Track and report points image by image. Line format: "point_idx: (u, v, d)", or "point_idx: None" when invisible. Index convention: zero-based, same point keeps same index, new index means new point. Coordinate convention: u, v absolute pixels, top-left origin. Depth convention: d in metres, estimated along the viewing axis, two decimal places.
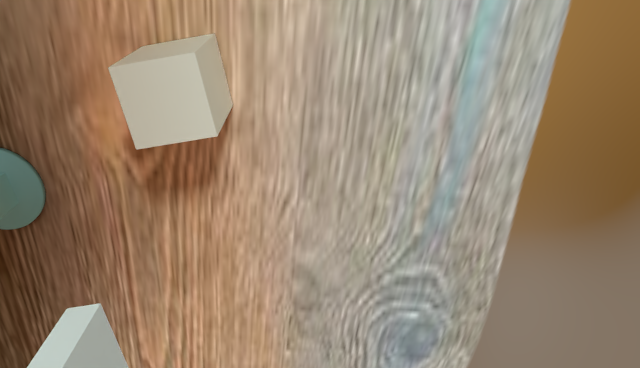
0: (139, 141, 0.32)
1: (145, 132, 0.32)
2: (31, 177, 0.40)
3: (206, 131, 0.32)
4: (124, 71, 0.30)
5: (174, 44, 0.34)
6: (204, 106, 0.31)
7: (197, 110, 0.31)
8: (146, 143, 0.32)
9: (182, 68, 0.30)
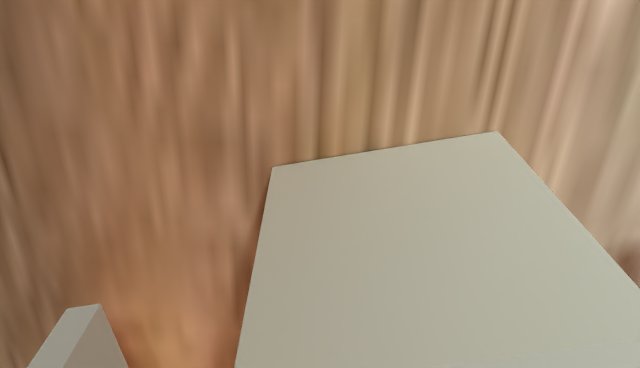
0: None
1: None
2: None
3: None
4: None
5: (404, 185, 0.10)
6: None
7: None
8: None
9: None
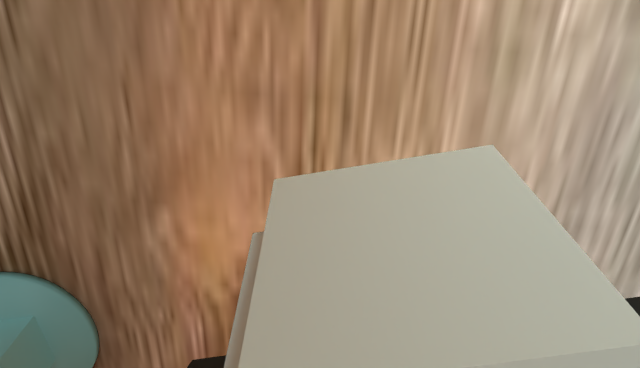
0: None
1: None
2: (78, 322, 0.24)
3: None
4: None
5: (402, 197, 0.11)
6: None
7: None
8: None
9: None
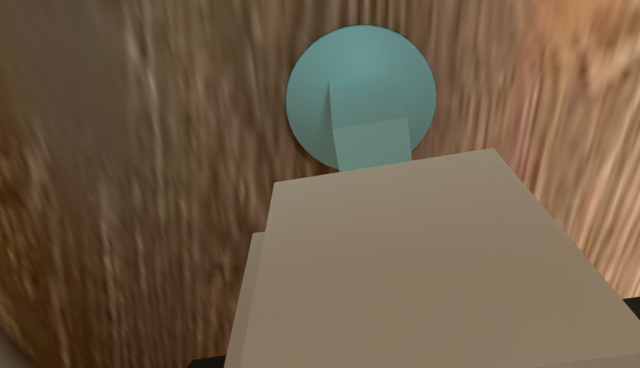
0: None
1: None
2: (426, 80, 0.24)
3: None
4: None
5: (402, 201, 0.10)
6: None
7: None
8: None
9: None
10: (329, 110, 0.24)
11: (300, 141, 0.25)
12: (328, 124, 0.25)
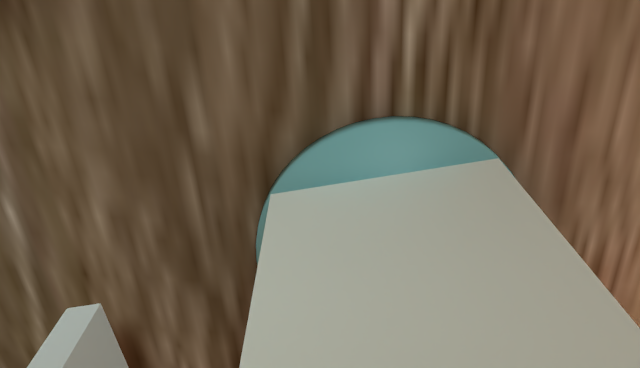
0: None
1: None
2: None
3: None
4: None
5: (404, 216, 0.10)
6: None
7: None
8: None
9: None
10: None
11: None
12: None
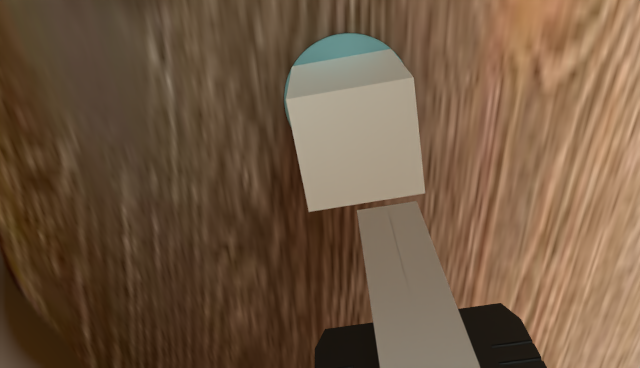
0: (315, 200, 0.23)
1: (325, 188, 0.23)
2: None
3: (410, 186, 0.23)
4: (308, 104, 0.21)
5: (347, 64, 0.25)
6: (414, 152, 0.22)
7: (403, 158, 0.22)
8: (324, 203, 0.23)
9: (392, 100, 0.21)
10: None
11: None
12: None
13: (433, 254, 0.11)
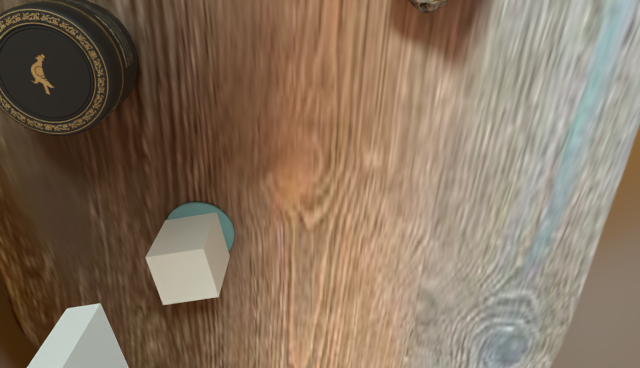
0: (165, 300, 0.47)
1: (169, 294, 0.47)
2: (227, 225, 0.52)
3: (211, 294, 0.47)
4: (156, 259, 0.45)
5: (188, 225, 0.49)
6: (209, 279, 0.46)
7: (205, 281, 0.46)
8: (170, 301, 0.47)
9: (195, 257, 0.45)
10: None
11: None
12: None
13: None
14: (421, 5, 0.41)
